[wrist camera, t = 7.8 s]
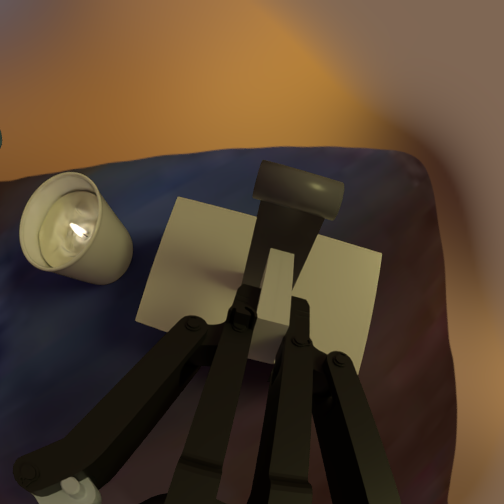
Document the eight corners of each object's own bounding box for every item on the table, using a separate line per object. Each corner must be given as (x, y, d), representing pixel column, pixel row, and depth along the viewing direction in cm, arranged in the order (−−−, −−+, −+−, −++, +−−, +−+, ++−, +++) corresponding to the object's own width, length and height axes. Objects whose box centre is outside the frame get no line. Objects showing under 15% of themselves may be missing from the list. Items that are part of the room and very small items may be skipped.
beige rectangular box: (160, 324, 33) (135, 320, 25) (192, 226, 37) (179, 193, 28) (328, 370, 33) (356, 380, 24) (350, 270, 36) (382, 250, 27)
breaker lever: (233, 288, 25) (257, 173, 16) (240, 266, 26) (265, 152, 18) (293, 304, 25) (344, 198, 16) (296, 282, 26) (343, 175, 18)
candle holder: (144, 217, 37) (111, 169, 25) (134, 295, 34) (89, 275, 23) (80, 215, 36) (33, 173, 25) (66, 287, 34) (10, 266, 22)
